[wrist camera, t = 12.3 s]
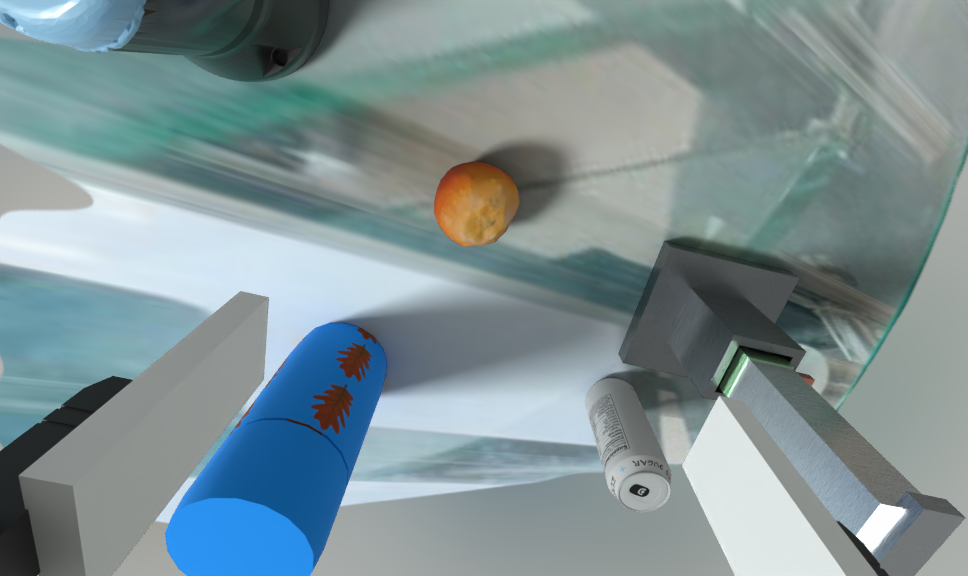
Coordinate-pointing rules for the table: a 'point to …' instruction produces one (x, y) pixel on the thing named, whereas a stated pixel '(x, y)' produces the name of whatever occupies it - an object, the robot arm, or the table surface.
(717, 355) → the stand base
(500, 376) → the table surface
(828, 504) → the column
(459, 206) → the fruit
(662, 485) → the energy drink can
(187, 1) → the robot arm
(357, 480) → the table surface
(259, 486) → the thermos
